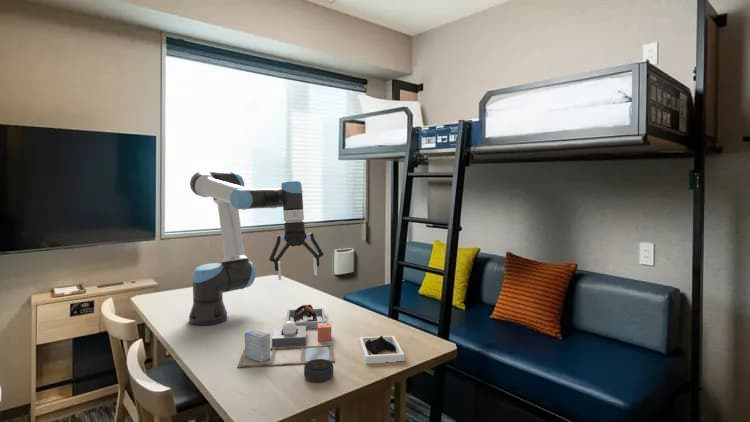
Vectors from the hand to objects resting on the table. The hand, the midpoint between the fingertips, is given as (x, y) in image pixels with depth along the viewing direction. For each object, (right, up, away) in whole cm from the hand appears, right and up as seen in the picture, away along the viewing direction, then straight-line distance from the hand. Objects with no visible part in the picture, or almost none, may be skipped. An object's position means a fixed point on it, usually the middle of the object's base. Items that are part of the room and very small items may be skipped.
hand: (298, 277), depth 159 cm
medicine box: (-10, -25, -18) cm, 32 cm away
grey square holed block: (-3, -23, -1) cm, 23 cm away
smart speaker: (+12, -26, -30) cm, 42 cm away
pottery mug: (0, -22, +19) cm, 29 cm away
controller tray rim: (+31, -24, -12) cm, 41 cm away
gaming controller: (+31, -25, -12) cm, 41 cm away
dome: (-3, -22, -2) cm, 22 cm away
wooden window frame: (-1, -24, -16) cm, 29 cm away
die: (+10, -23, +1) cm, 25 cm away
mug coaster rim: (0, -22, +19) cm, 29 cm away
